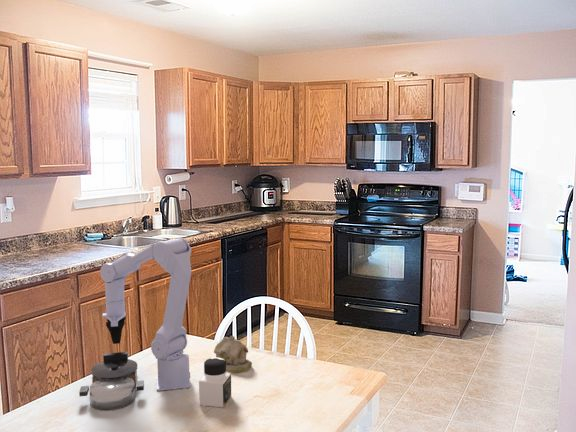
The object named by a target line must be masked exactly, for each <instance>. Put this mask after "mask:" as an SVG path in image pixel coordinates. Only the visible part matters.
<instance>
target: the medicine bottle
mask: <svg viewBox="0 0 576 432" xmlns="http://www.w3.org/2000/svg"><path fill="white" fill-rule="evenodd" d="M203 371H204V372H203V373H204V375H203V376H202V377H201V378H200V380H199V381H198V397H199V398H198V399H199V402H198V403H199V406H204V407H214V408H225V406H226V405H227V403H228V402H229V400H230V399H231V397H232V373H230V372H226V361H225V360H224V359H222V358H217V357H216V356H214V357H211V358H208V359H205V360H204V363H203Z"/></svg>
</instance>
